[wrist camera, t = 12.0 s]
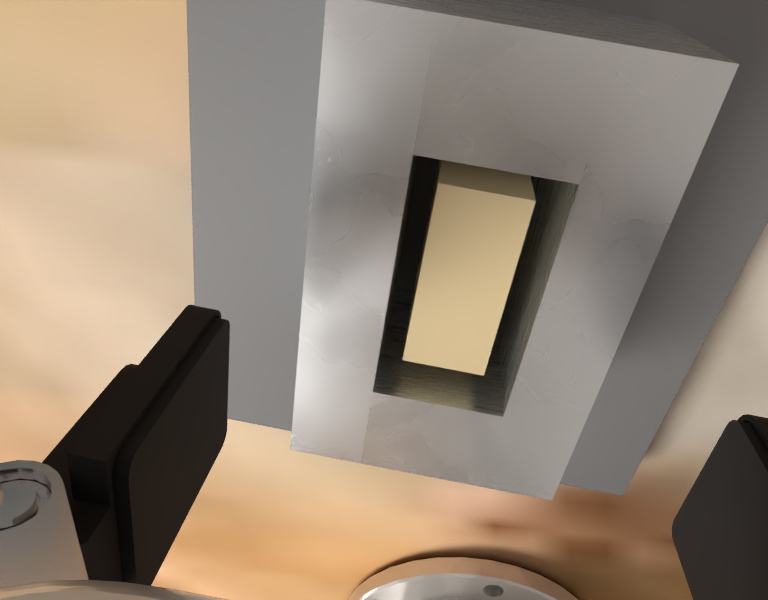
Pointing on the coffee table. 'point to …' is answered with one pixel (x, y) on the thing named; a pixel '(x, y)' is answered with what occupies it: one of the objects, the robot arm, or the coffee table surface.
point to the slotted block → (544, 234)
